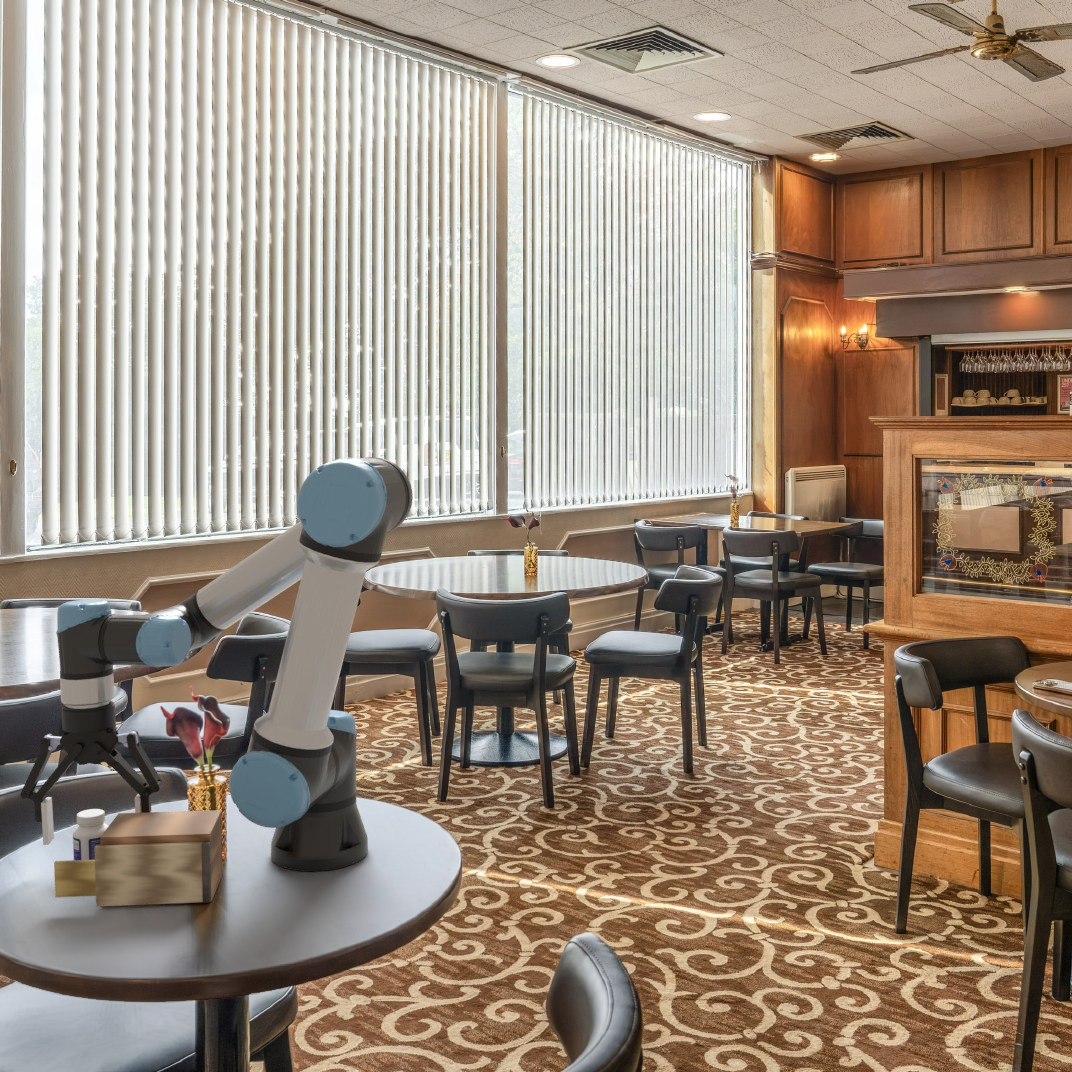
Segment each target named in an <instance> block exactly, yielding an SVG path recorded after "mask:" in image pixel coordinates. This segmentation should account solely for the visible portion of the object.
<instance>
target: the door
mask: <svg viewBox="0 0 1072 1072" xmlns="http://www.w3.org/2000/svg"><path fill="white" fill-rule="evenodd" d="M53 864H54V865H53V869H54V870H53V871H54V872H53V873H54V896H55V898H72V897H74V898H77V897H95V903H96V904H95V906H96V907H115V906H119V907H120V906H140V905H141V906H142V905H161V904H162V905H166V904H167V905H168V904H188V903H189V904H190V903H206V904H207V903H211V902H212V901H211V869H210V842H209V841H204V842H185V843H155V844H125V845H96V846H95V860H74V859H73V860H55V861H54V862H53ZM210 901H211V902H210Z"/></svg>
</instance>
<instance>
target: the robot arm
mask: <svg viewBox="0 0 1072 1072" xmlns="http://www.w3.org/2000/svg"><path fill="white" fill-rule="evenodd" d="M413 498H414V497H413V489H412V485H411V482H410V479H409V477H408V476H407V474H406V473H405V472H404V470H403V469H402V468H401V467H399V465H397V464H395V463H394V462H392V461H391V460H388V459H386V458H383V457H376V456H375V457H373V456H372V457H371V456H369V457H362V458H360V457H359V458H352V457H341V458H338V459H337V458H336V459H333V460H330V461H329V462H326V463H323V464H322V465H319V466H318V467H317V468H315V469H313V470H312V471H311V472H310V473H309V475H308V476H306V478H305V480H304V481H303V483H302V485H301V487H300V490H299V493H298V495H297V501H296V506H297V507H296V509H297V515H298V519H299V520H300V521H299V522H297V523H296V524H294V525H292V526H291V527H289V528H288V529H286V530H285V531H284V532H282V533H281V534H279V535H278V536H276V537H275V538H273V539H272V540H270V541H269V542H268V543H266V544H265V545H263V546H261V547H260V548H259V549H258V550H256V551H254V552H253V553H251V554H250V555H249V556H247V557H246V558H244V559H243V560H241V561H239V562H238V563H237V564H235V565H234V566H232V567H231V568H230V569H228V570H226V571H225V572H224V573H222V574H220V575H219V576H218V577H216V578H215V579H213V580H212V581H210V582H208V583H207V584H206V585H204V586H203V587H202V588H200V589H198V590H197V591H196V592H195V593H193V594H191V595H190V596H188V597H187V598H186V599H184V600H182V601H181V602H179V603H177V604H176V605H172V606H169V607H166V608H163V609H159V610H155V611H152V612H149V613H145V614H113V613H112V610H111V605H110V602H109V601H107V600H106V599H105V600H104V599H100V598H99V599H96V598H94V599H89V598H88V599H87V598H86V599H78V600H70V601H67V602H64V603H62V604H60V605H59V607H58V608H57V615H56V616H57V619H56V620H57V622H56V623H57V624H56V625H57V630H56V633H55V634H56V636H57V646H58V648H57V649H58V655H59V656H58V659H59V682H60V683H59V686H60V688H59V689H60V702H61V704H63V706H62V707H61V723H62V725H61V726H62V727H61V728H62V735H61V736H56V735H53V734H52V733H47V734H45V735H44V736H43V737H42V738H41V739H40V743H39V744H40V745H39V753H38V755H37V757H36V760H35V761H34V764H33V766H32V768H31V770H30V773H29V774H28V777H27V779H26V780H25V784H24V786H23V787H22V789H21V792H20V795H19V796H20V798H21V799H24V800H25V799H26V800H27V799H28V800H31V801H33V803H34V816H35V817H34V819H35V822H36V823H41V827H42V828H41V829H42V844H43V846H47V845H50V844H51V843H52V842H53V840H54V839H55V832H54V811H53V810H54V809H53V797H52V796H47V795H48V794H49V793H50V791H51V790H52V788H54V786H55V785H56V784H57V783H58V781H59V780H60V779H61V778H62V777H63V775H64V774H65V773H66V771H67V770H68V769H69V768H70V766H71V765H72V764H73V763H75V764H78V765H79V766H84V765H89V764H92V765H101V764H102V763H106V764H107V765H108V767H110V768H112V769H113V770H114V771H116V773H117V774H119V776H120V777H121V778H122V779H123V780H124V781H125V782H126V783H127V784H128V785H129V786H130V787H131V788H132V789H133V790H134V791H135V792H136V793H137V795H136V796H135V797H134V811H135V812H134V813H146V812H152V794H153V793H158V792H159V791H161V790H160V789H161V788H162V787H163V785H164V783H163V779H161V776H160V775H159V773H158V771H157V770H156V768H155V767H154V765H153V763H152V761H151V760H150V757H149V756H148V754H147V753H146V751H145V750H144V748H143V746H142V745H141V741H140V736H139V731H138V730H136V729H133V730H131V731H130V732H125V733H119V732H118V730H117V719H116V703H115V702H114V701H113V699H114V698H115V680H114V677H115V676H114V666H137V667H152V668H158V669H159V668H162V667H175V666H178V665H181V664H182V663H183V662H184V661H185V658H186V657H187V656H188V654H189V653H190V651H192V650H195V649H199V648H203V647H205V646H208V645H209V644H211V643H212V642H214V641H216V639H218V638H219V636H221V634H222V633H223V632H224V631H225V630H226V629H228V628H230V627H231V626H233V625H235V623H237V622H238V621H241V620H242V619H243V618H244V617H246V616H247V615H249V614H251V613H252V612H253V611H256V610H257V609H259V608H260V607H262V606H263V605H265V604H266V603H268V602H269V601H271V600H272V599H274V598H275V597H276V596H278V595H279V594H282V593H283V592H284V591H285V590H288V589H289V588H290V587H291V586H293V585H295V584H297V583H298V582H299V581H300V582H299V587H298V590H297V594H296V599H295V602H294V606H293V610H292V615H291V618H290V623H289V628H288V630H287V635H286V639H285V643H284V647H283V651H282V655H281V660H280V663H279V667H278V671H277V676H276V679H275V684H274V688H273V691H272V695H271V700H270V703H269V707H268V711H267V713H265V714H264V715H262V716H260V717H258V718H257V719H256V720H255V721H254V724H253V729H252V731H251V735H250V738H249V739H250V740H249V745H248V747H247V752H246V753H245V754H244V755H242V756H241V757H239V758H238V761H237V762H236V763H235V764H234V765H233V768H232V769H231V770H230V771H231V772H230V773H229V774H230V775H229V777H228V778H229V780H228V788H229V793H230V794H229V795H230V797H231V800H232V802H233V804H235V806H236V807H237V809H238V812H239V813H240V814H241V815H242V816H243V817H244V818H246V819H247V821H250V822H251V823H253V824H255V825H258V826H260V827H264V828H268V829H269V828H270V829H273V828H274V829H275V830H274V832H273V836H272V838H271V842H270V843H271V844H270V855H271V856H270V857H271V861H273V863H274V864H276V865H277V866H280V867H282V868H285V869H289V870H294V871H300V872H301V871H302V872H319V871H320V872H322V871H330V870H335V869H342V868H345V867H348V866H351V865H353V864H356V863H358V862H360V861H361V860H363V859H364V858H365V857H366V856H367V854H368V852H369V846H368V845H369V843H368V842H369V841H368V840H369V838H368V834H367V832H366V829H365V825H364V822H363V819H362V816H361V814H360V811H359V808H358V804H357V737H358V733H357V730H356V729H357V727H356V720H355V716H353V714H351V713H349V712H346V711H343V710H335V709H332V705H333V702H334V698H335V694H336V690H337V686H338V682H339V678H340V674H341V670H342V667H343V664H344V663H343V662H344V658H345V654H346V650H347V647H348V643H349V639H350V635H351V632H352V629H353V628H352V627H353V623H354V620H355V617H356V612H357V608H358V604H359V600H360V595H361V594H362V593H361V592H362V590H363V589H362V588H363V584H364V580H365V576H366V573H367V571H368V570H369V569H371V568H373V567H376V565H378V564H379V563H380V561H381V558H382V553H383V549H384V547H385V545H384V544H385V542H386V538H387V534H388V533H391V532H392V531H394V530H396V529H397V528H399V527H400V526H401V525H402V524H403V523H404V521H405V520H406V519H407V517H408V516H409V513H410V512H411V508H412V506H413V505H412V504H413ZM119 743H121V744H122V745H123V747H124V748H128V752H129V753H130V755H131V757H132V758H133V760H134V762H135V764H136V766H137V767H138V769H139V771H140V773H141V774H142V776H141V775H140V774H139V773H138V771H136V770H135V768H133V766H131V764H129V762H128V761H126V760H125V758H124V757H123V756H122V754H121V752H119V751H118V750H117V749H116V747H117V746H118V745H119ZM59 745H60V747H61V748H62V749H63V751H65V753H66V755H65V757H64V758H63V759H62V761H61V762H60V763H59V764H58V765H57V767H56V768H55V770H54V771H53V772H52V773H51V774H50V776H49V777H48V778H47V779H46V781H44V783H43V784H42V786H41V787H40V788H39V789H38V788H37V785H38V783H39V781H40V779H41V776H42V774H43V772H44V770H45V767H46V766H47V764H48V762H49V759H50V757H51V755H52V752H53V751H55V750H56V749H57V748H58V746H59ZM143 777H144V778H143Z"/></svg>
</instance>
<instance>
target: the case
mask: <svg viewBox="0 0 1072 1072" xmlns="http://www.w3.org/2000/svg"><path fill="white" fill-rule="evenodd" d="M222 815H223V814H222V809H221V810H220V809H218V810H213V809H212V810H188V811H187V810H185V811H182V810H181V811H179V810H178V811H154V812H153V811H151V812H146V813H135V812H119V813H117V815H116V816H115V817H114V818H113V820H112V821H111V822H110V824H109V825H108V826H109V827H108V828H107V829H106V831H105V832H104V833H103V835H102V836H101V837H100V841H101V845H125V844H155V843H185V842H204V841H209V842H210V869H211V901H210V902H209V903H212V902H213V899H214V896H215V893H216V892H217V889H218V886H219V884H220V882H221V879H222V877H223V874H224V873H223V871H224V870H223V869H224V868H223V823H222V822H223V821H222V818H223V817H222Z"/></svg>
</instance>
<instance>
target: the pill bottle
mask: <svg viewBox="0 0 1072 1072" xmlns="http://www.w3.org/2000/svg"><path fill="white" fill-rule="evenodd" d="M105 812H106V811H105V810H103V809H100V808H90V809H84V810H81V811H79V812H78V813H76V824H77V825H78V826H77V827H75V829H74V830H73V833H72V844H73V845H72V846H73V860H95V846H96V845H101V841H100V837H101V836H102V835H103V833H104V832H105V831H106V829H107V828H108V827H109V825H108V824H107V823H105V822H106V813H105Z"/></svg>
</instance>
